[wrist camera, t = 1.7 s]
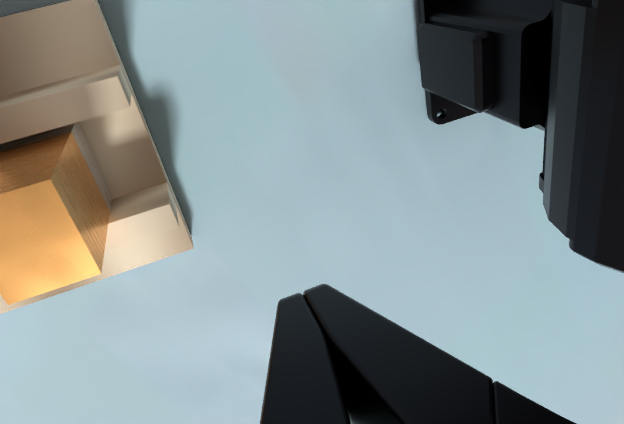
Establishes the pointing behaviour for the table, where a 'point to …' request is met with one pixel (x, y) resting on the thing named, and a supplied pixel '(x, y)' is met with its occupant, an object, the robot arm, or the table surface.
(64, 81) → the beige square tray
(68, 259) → the lock bolt
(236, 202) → the table surface
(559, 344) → the table surface
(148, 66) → the table surface
